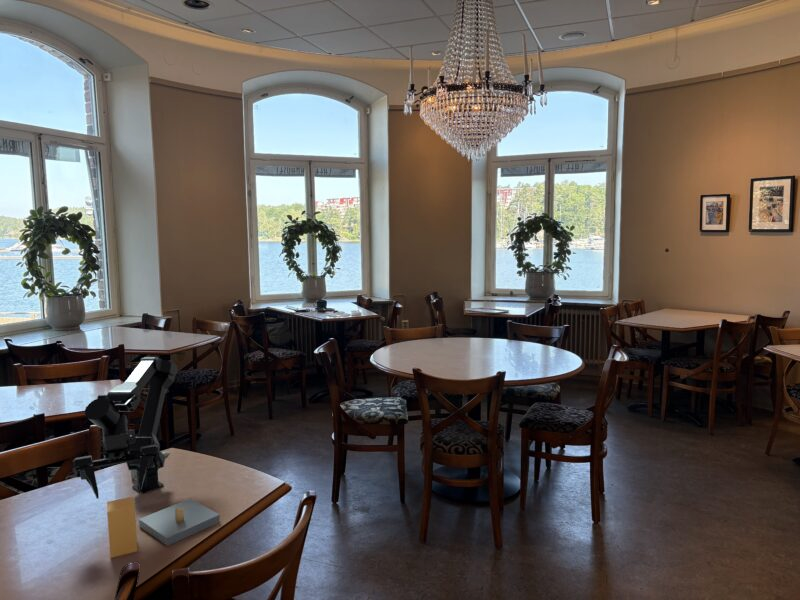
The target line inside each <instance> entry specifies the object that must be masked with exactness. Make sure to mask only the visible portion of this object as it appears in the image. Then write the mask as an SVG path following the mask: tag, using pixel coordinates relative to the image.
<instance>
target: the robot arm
mask: <svg viewBox="0 0 800 600" xmlns="http://www.w3.org/2000/svg"><path fill="white" fill-rule="evenodd" d="M177 374H178V365H177V364H176V363H175V362H174V360H166V359H162V358H160V357H158V356H144V357H141V358H140V360H139V363H138V365H137V366H136V367H135V368H134V370H133V371H132V372H131V374H129V376H128V377H127V379H125V381H123V382H122V383H120V384H118V385H115V386H114V387H113V388H112V389H110V390H109V391H108V392H107V394H98V395H97V397H96V398H95V399H94V400H92V401H91V402H90V403H88V405H87V406H85V409H84V415H85V417H86V418H87V419H88V420H89V421H90V422H91V423H93V424H94V425H95V426H97V427H98V428H99V429H102V455H103V458H99V459H94V460H93V459H92V458H93V457H92V455H85V456H80V457H79V456H78V457H74V459H73V460H72V470H73V475H74V478H80V479H81V481H82V480H85V481H86V482H87V483H88V484H89V487H91V489H92V492H93V493H94V495H95V496H94V497H95V498H96V499H99V495H100V493H99V489H98V484H97V479H96V473H95V469H97V468H103V467H108V466H109V467H111V466H113V465H114V466H115V465H120V464H126V466H127V469H128V471H131V470H136V476H137V477H136V484H132V487H131V488H132V489H134V490H135V491H136V492H138V493H140V494H146V493H149V492H151V491H154V490H157V489H159V488H162V487H164V486H165V485H164V483H163V482H161V481H159V469H162V468H164V466H165V461H166V460H165V459H166V457H165V456H164V455H163V454H162V453H163V452H162V451H161V450H160V448H161V444H160V442H159V440H158V438H157V435H158V430H159V425H160V420H161V415H162V412H163V411H162V410H163V407H164V402H165V397H166V394H167V393H166V392H167V389H168V388H170V386H171V385H173V383H174V381H175V379H176V376H177ZM147 383H148V385H149V386H148V387H149V388H148V391H147V396H146V400H145V404H144V409H143V413H142V417H141V420H140V421H141V422H140V425H139V426H140V427H139V431H138V434H136V429H133V428H132V429H128V424H129V421H128V418H127V415H125V414H124V413H125V412H127V413H128V412H134V411H135V410H137V408H138V406H139V405H140V402H141V400H142V399H141V397H140V396H141V395H140V394H141V392H142V391H143V389H144V388H145V386H146V385H147ZM123 412H124V413H123Z"/></svg>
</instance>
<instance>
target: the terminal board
mask: <svg viewBox="0 0 800 600" xmlns="http://www.w3.org/2000/svg"><path fill="white" fill-rule="evenodd" d="M220 522H221V519H220V514H219V513H218V512H216V511H214V510H212V509H210V508H209V507H206V506H205V505H203V504H201V503H199V502H197V500H194V499H193V498H188V499H185V500H183V501H181V502H178V503H175V504H173V505H171V506H168V507H166V508H163V509H161V510H158V511H156V512H154V513H151V514H148V515H145V516H143V517H140V518H139V519H138V525H139V528H141V529H142V530H143V531H145V532H147V534H149V535H151V536H152V537H153V538H155V539H157V540H158V541H159V542H161V543H163V544H164V545H166V547H168V546H171V545H173V544H175V543H177V542H179V541H181V540H184V539H186V538H188V537H190V536H192V535H195V534H197V533H198V532H201V531H203V530H205V529H208V528H210V527H212V526H215V525H216V524H218V523H220Z"/></svg>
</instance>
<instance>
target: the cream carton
mask: <svg viewBox="0 0 800 600" xmlns="http://www.w3.org/2000/svg"><path fill="white" fill-rule="evenodd" d="M106 514H107V531H108V540H109V541H108V543H109V544H108V545H109V553H110V554H109V555H110V556H109V557H110V559H113V558H117V557H120V556H121V557H122V556H125V555H128V554H132V553H136V552H138V550H139V549H138V538H137V537H138V536H137V524H136V509H135V499H134V496H128V497H124V498H119V499H115V500H110V501H107V502H106Z"/></svg>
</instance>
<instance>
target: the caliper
mask: <svg viewBox="0 0 800 600" xmlns="http://www.w3.org/2000/svg"><path fill="white" fill-rule="evenodd" d="M162 454H163V455H164V456H165V458H166V457H168V455H170V454H171V453H170V452H168V451H164V452H162ZM130 476H131V477H130V478H131V480H136V479H137V476H136V470H130Z"/></svg>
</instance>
